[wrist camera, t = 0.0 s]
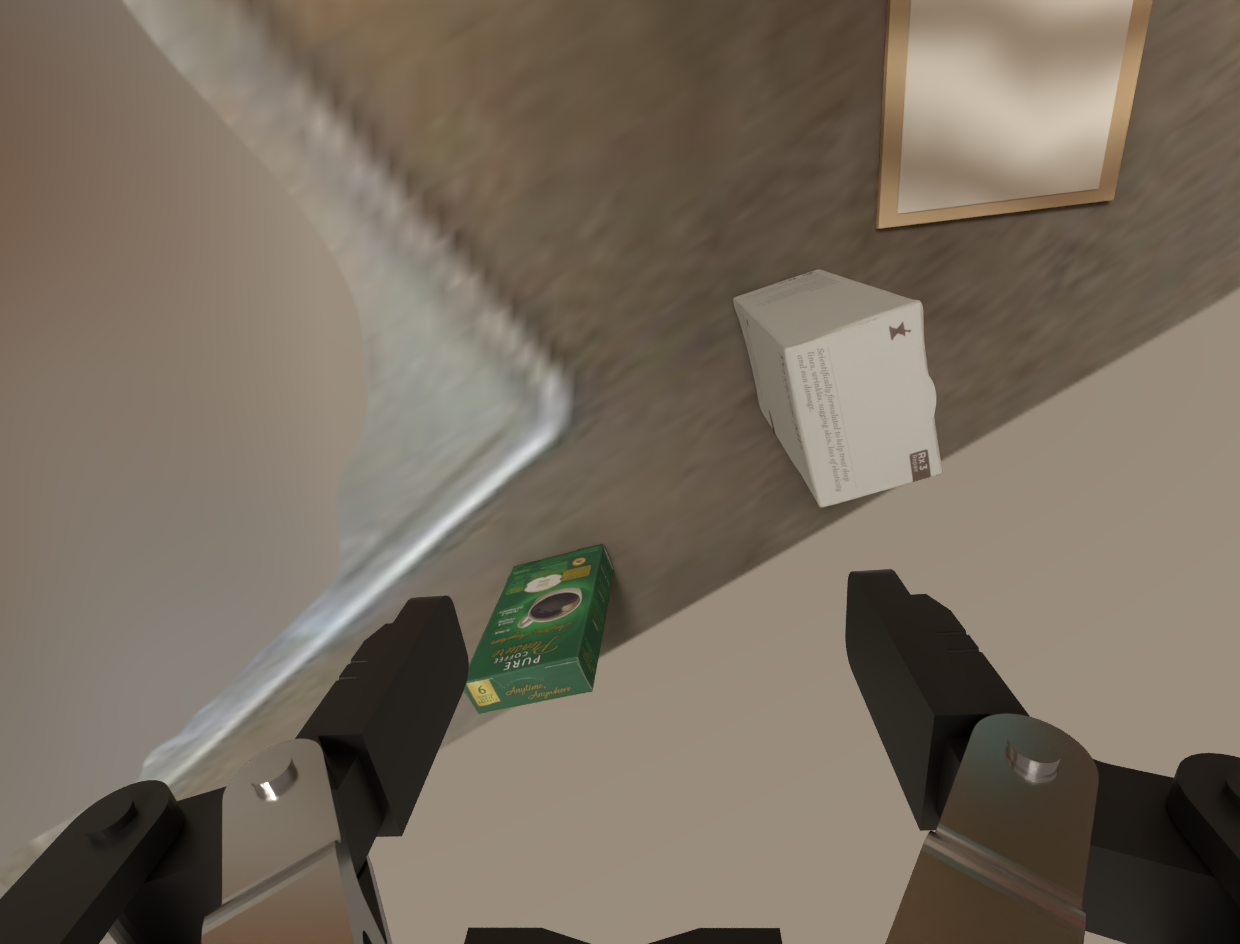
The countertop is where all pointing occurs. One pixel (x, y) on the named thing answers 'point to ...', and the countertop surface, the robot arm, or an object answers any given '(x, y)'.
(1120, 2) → the clipboard
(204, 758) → the countertop surface
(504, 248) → the countertop surface
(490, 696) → the coffee box
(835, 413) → the skincare box
